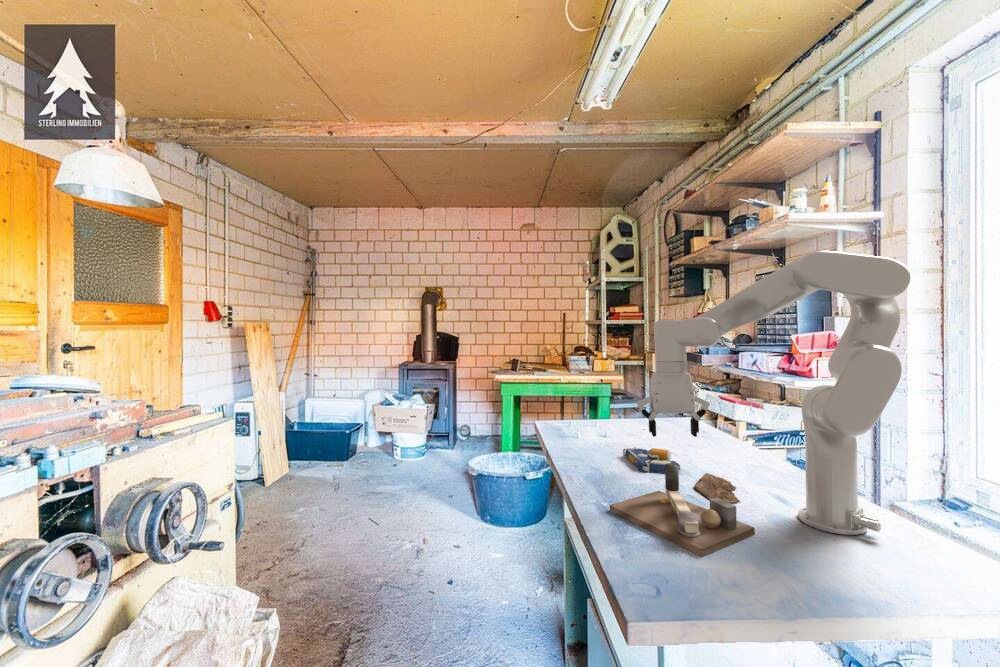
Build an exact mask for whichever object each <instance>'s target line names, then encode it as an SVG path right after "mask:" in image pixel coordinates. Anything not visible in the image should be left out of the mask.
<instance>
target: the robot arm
mask: <svg viewBox="0 0 1000 667" xmlns="http://www.w3.org/2000/svg"><path fill="white" fill-rule="evenodd" d="M910 282H911V272H910V270H909V268H908V267H907V266H906V265H905V264H904V263H902V262H900V261H899V260H896V259H893V258H889V257H883V256H875V255H866V254H858V253H857V254H856V253H847V252H839V251H831V250H817V251H812V252H809V253H807V254H805V255H803V256H801V257H798V258H796V259H795V260H792V261H790V262H789V263H786V265H784V266H781V267H780V268H778V269H776V270H775V271H772V273H769V274H768V275H766V276H764V277H762V278H761V279H759V280H757V281H756V282H753V283H751V284H750V285H748V286H747V287H745V288H743V289H741V290H739V291H738V292H737V293H735V294H733V295H732V296H731V297H729V298H727V299H726V300H724V301H723V302H721V303H719V304H716V305H715V306H713V307H712V308H710V309H708V310H707V311H705V312H703V313H701V314H698V315H697V316H695V317H694V318H689V319H678V318H676V319H675V318H673V319H659V320H657V321H655V322H654V325H653V335H654V336H653V339H654V362H655V363H654V366H655V368H654V369H655V372H652V373H651V378H650V379H651V381H650V395H649V396H647V397H645V398H643V399H642V400H639V401H637V402H636V405H637V408H638V409H639V411H640V412H641V414H642V415H643V416H644V417H646V418H647V420H648V431H649V433H651V436H652V437H653V438H654V437H657V422H656V419H655V418H656V417H657V416H658V415H659V414H689V415H690V416H691V418H690V422H689V423H690V435H692V436H693V437H694V438H697V437H698V433H699V432H700V427H699V426H700V424H699V422H700V420H701V418H702V417H704V415H705V414H706V413H707V410H708V408H709V407H710V402H709V401H707V400H705V399H703V398H701V397H698V396H697V395H695V391H694V384H693V380H692V376H691V373H690V372H688V371H689V370H690V369H694V363H693V362H689V361H688V357H687V356H688V355H687V352H688V351H687V347H691V348H703V349H705V348H706V349H707V348H710V347H714V346H715V345H716V344H717V343H719V341H720V340H721V338H722V337H723V336H724V335H726V334H728V333H730V332H732V331H734V330H736V329H738V328H740V327H742V326H743V327H744V326H745V325H747V324H751V323H754V322H758V321H761V320H764V319H766V318H768V317H771V316H772V315H774V314H776V313H778V312H780V311H781V310H784V309H785V308H787V307H789V306H791V305H793V304H795V303H796V302H798V301H801V300H802V299H804V298H806V297H808V296H809V295H812V294H813V293H815V292H818V291H828V292H834V293H838V294H842V295H843V296H844V298H845V299H846V301H847V302H848V304H849V308H850V317H849V320H848V322H847V325H846V327H845V330H844V332H843V334H842V335H841V337H840V339H839V341H838V343H837V344H836V345H835V348H834V350H833V351H832V353H831V355H830V357H829V359H828V364H827V367H828V368H827V369H828V372H829V374H830V375H831V376H832V377H833V378H834V379H836V381H835V384H834V385H829V384H825V385H823V384H822V385H817V386H814V387H812V388H810V389H809V390H808V391H807V392H806V393H805V395H804V396H803V399H802V401H801V415H802V421H803V422H802V423H803V428H804V439H805V441H804V442H805V443H804V444H805V446H804V447H805V451H804V452H805V455H804V456H805V457H804V459H805V461H804V462H805V507H803V508H800V509H799V511H798V514H797V516H798V519H799V520H800V521H801V522H803V523H804V524H806V525H808V526H809V527H811V528H813V529H814V528H815V529H817V530H820V531H823V532H828V533H832V534H836V535H837V534H838V535H844V536H845V535H846V536H847V535H848V536H858V535H862V534H865V533H867V530H871V531H874V532H877V533H879V532H880V531H881V530H882V529H881V527H882V525H881V523H880V522H879V519H878V518H876V517H875V518H874V517H871V516H868V515H867V516H866V514H864V508H863V507H859V506H858V504H859V502H858V501H859V498H858V495H859V494H858V443H857V442H858V441H857V438H856V437H858V436H861V435H864V434H866V433H867V432H869V431H870V430H871V429H872V428H873V427H874V426H875V424H876V423H877V422H878V420H879V418H880V416H881V415H882V414H883V411H884V410H885V408H886V406H887V405H888V403H889V401H890V399H891V397H892V395H893V394H894V392H895V390H896V388H897V387H898V385H899V383H900V380H901V378H902V370H903V369H902V363H901V360H900V358H899V357H898V355H897V354H896V353H895V352H894V351H893V350H891V349H890V347H891V345H892V342H893V340H894V339H895V336H896V334H897V333H898V330H899V327H900V324H901V323H900V322H901V312H900V308H899V305H898V304H899V303H898V302H897V300H896V298H895V297H898V296H900V295H901V294H903V293H904V292H905V291H906V290H907V288H908V287H909V285H910ZM649 403H650V408H651V410H650V411H647V409H646V408H645V406H646V405H648V404H649ZM696 403H698V404H700V405H701V406H700V408H699V409H698V410H697V411H695V410H696Z"/></svg>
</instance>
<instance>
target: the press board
mask: <svg viewBox="0 0 1000 667" xmlns="http://www.w3.org/2000/svg"><path fill="white" fill-rule="evenodd" d="M684 501H685V503H686V504H687V506H688V507H689V509H690V511H691V512H694V513H696V514H698V515H699V533H686V532H684V531H682V530H680V529H679V518H678V516H677V514H676V512H675V510H674V508H673V506H672V504H671V502H670V500H669V499H668V497H667V495H666V492H663V491H660V490H657V491H654V492H650V493H645V494H643V495H639V496H636V497H633V498H629V499H626V500H625V499H624V500H622V501H618V502H614V503H612V504H609V512H611V513H613V514H615V515H617V516H618V517H621V518H623V519H625V520H627V521H629V522H631V523H633V524H634V525H637V526H639V527H641V528H644V529H646V530H647V531H649V532H651V533H653V534H655V535H657V536H659V537H660V538H661V537H662V538H663V539H666V540H668V541H669V542H672V543H674V544H675V545H678V546H680V547H681V548H684V549H686V550H688V551H690V552H692V553H694V554H695V555H698V556H699V557H702V558H703V557H705V556H707V555H709V554H712V553H714V552H716V551H718V550H721V549H723V548H726V547H728V546H730V545H731V546H732V545H733V544H735V543H738V542H740V541H742V540H745V539H747V538H749V537H752V536H754V535H755V534H756V533H755V531H756V528H755V527H754V526H752V525H750V524H746V523H743V522H741V521H738V520H737V505H734V504H730V503H728V502H726V501H724V500H721V499H719V498H715V499H709V508H705V507H702V506H699V505H697V504H694V503H692V502H689V501H687V500H685V499H684Z"/></svg>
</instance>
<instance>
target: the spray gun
mask: <svg viewBox="0 0 1000 667" xmlns="http://www.w3.org/2000/svg"><path fill="white" fill-rule="evenodd" d="M622 455H623V457H624V456H626V458H627V459H628V460H629V461H630V462H631V463H632V464H633V463H634V464H635V465H636V466H635V465H634V464H633V465H634V466H635V467H636V468H637V469H638V470H639V471H640V470H642V471H641V472H646V471H647V472H646V473H648V472H649V473H651V472H650V471H653V472H652V473H659V472H661V473H660V474H665V464H667V463H673V464H677V465H678V466H679V471H681V466H680V464H679V463H678V462H676V460H672V452H671V451H670V449H662V448H654V447H652V448H650V449H643V448H639V447H638V448H637V446H634V447H633V448H632V447H630V448H629V447H627V448H623V449H622Z"/></svg>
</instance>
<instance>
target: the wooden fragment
mask: <svg viewBox="0 0 1000 667" xmlns="http://www.w3.org/2000/svg"><path fill="white" fill-rule="evenodd" d="M731 482H732V481H730V480H729V481H728V480H727V479H725V478H723V477H719V476H716V475H714V474H711V473H710V472H704V474H703V475H702V477H700V478H699V480H698V481H697V482H696V483H695V484H694V485H693V489H695V490H696V491H697V492H700V493H701V494H702V495H704V496H705V497H706V498H708V499H709V500H710V499H715V498H719V499H721V500H724V501H726V502H728V503H730V504H733V505H734V504H739V503H741V501H740V500H739V499H738V497H737V496H736V495H735V493H734V492H733V491H735V490H736V489H737V487H736V486H734V485H733V484H731ZM738 502H739V503H738Z"/></svg>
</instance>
